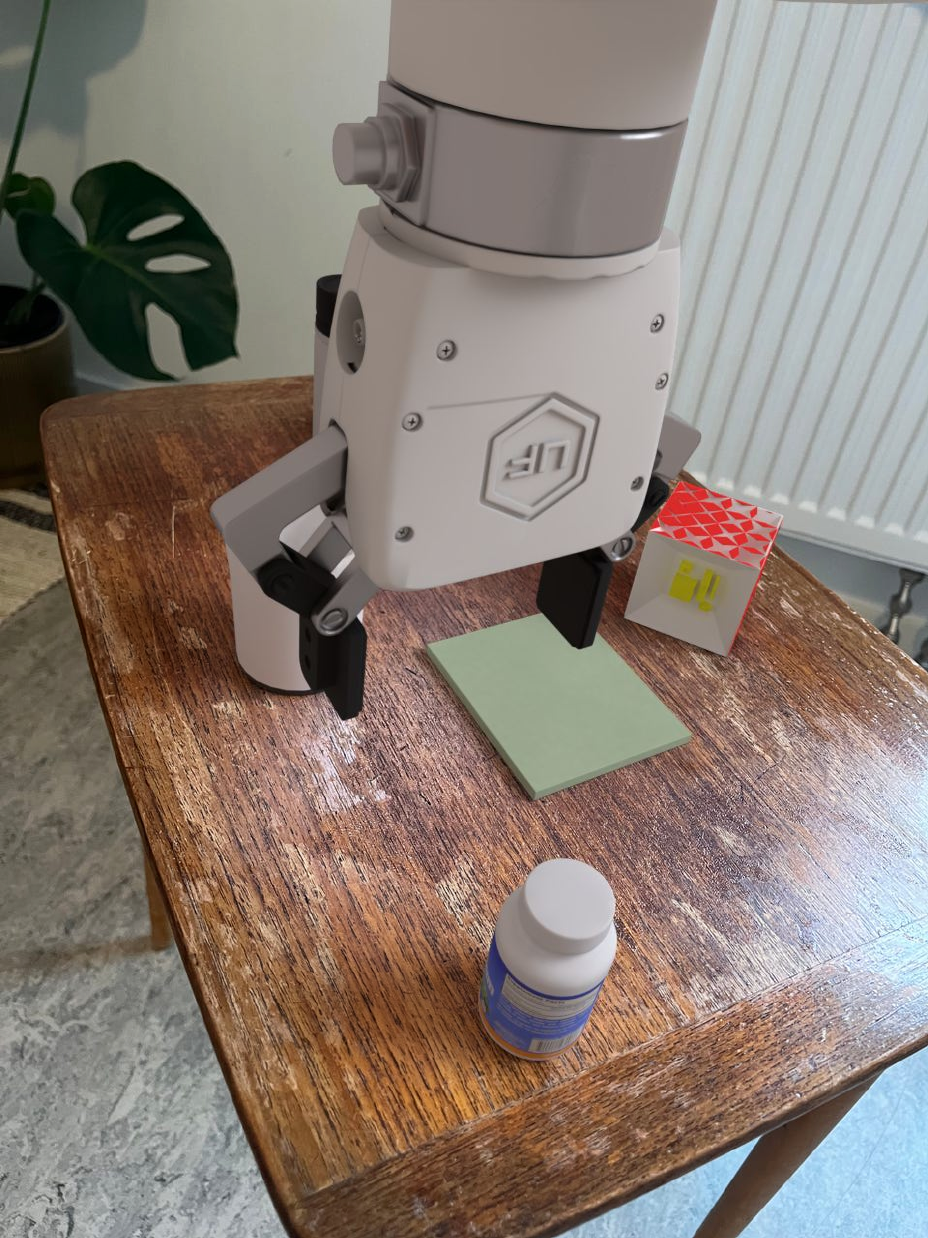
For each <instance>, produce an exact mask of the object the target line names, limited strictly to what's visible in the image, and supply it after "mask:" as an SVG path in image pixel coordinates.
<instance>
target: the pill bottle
mask: <svg viewBox="0 0 928 1238" xmlns="http://www.w3.org/2000/svg"><path fill="white" fill-rule="evenodd" d="M615 913H616V897H615V894H614V892H613V889H612V887H611V884H609V882H608V880H607V879H606V878H605V876H604V875H603V874H601V872H599V871H598V870H597V869H596V868H595V867H593V866H591V865H589V864H587V863H586V862H583V861H582V860H581V861H580V860H578V859H573V858H566V857H564V858H563V857H557V858H551V859H548V860H545V861H543V862H540V863H538V864H537V865H536V866H535V867H534V868H532V869H531V870H530V872H529V873H528V875H527V876H526V878H525V880H524V883H523V884H522V885H520V886H518V887H517V888H516V889H514V890H513V891H512V892H511V893H510V894H509V895H508V896H507V898H506V899H505V900H504V902H503V904H502V905H501V908H500V909H499V912H498V915H497V918H496V922H495V926H494V929H493V933H492V937H491V942H490V945H489V949H488V952H487V957H486V961H485V965H484V969H483V972H482V976H481V981H480V984H479V990H478V997H477V998H478V999H477V1000H478V1001H477V1003H478V1004H477V1005H478V1013H479V1016H480V1019H481V1023H482V1025H483V1028H484V1029H485V1030H486V1032H487V1034H488V1035H489V1036H490V1039H492V1040H493V1041H494V1042H495V1043H496V1044H497V1045H498V1046H499V1047H501V1048H502V1049H503V1050H504V1051H506V1052H508V1053H509V1054H511V1055H512V1056H515V1057H517V1058H520V1059H523V1060H526V1061H533V1062H544V1061H551V1060H553V1059H556V1058H558V1057H561V1056H562V1055H564V1054H566V1053H567V1052H568V1051H570V1050H571V1049H572V1048H573V1047H574V1046H575V1045H576V1044H577V1042H578V1041H579V1040H580V1038H581V1036H582V1035H583V1033H584V1030H585V1028H586V1026H587V1024H588V1022H589V1021H588V1020H589V1018H590V1016H591V1014H592V1011H593V1008H594V1006H595V1004H596V1001H597V999H598V997H599V994H600V993H601V990H602V989H603V985H604V983H605V981H606V980H607V979H606V978H607V976H608V975H609V972H610V969H611V967H612V965H613V963H614V960H615V957H616V953H617V949H618V948H617V947H618V936H617V930H616V926H615V922H614V916H615Z"/></svg>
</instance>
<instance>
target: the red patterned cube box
mask: <svg viewBox="0 0 928 1238" xmlns="http://www.w3.org/2000/svg"><path fill="white" fill-rule="evenodd" d="M663 505H664V506H663V507H662V509H661V510H660V512H659V514H658V515H657V517H656V518H655V520H654V522H653V523H652V525H651V526H650V528H649V530H648V532H647V536H646V539H645V543H644V546H643V549H642V552H641V556H640V560H639V563H638V566H637V570H636V573H635V577H634V581H633V584H632V588H631V591H630V594H629V598H628V601H627V605H626V608H625V611H624V615H623V619H625V620H628V621H631V622H633V623H635V624H636V623H637V624H638V625H641V626H644V627H647V628H648V629H651V630H653V631H657V632H659V633H662V634H664V635H667V636H670V637H672V638H675V639H678V640H680V641H682V642H685V643H688V644H690V645H692V646H693V645H694V646H696V647H699V648H701V649H704V650H706V651H708V652H711V653H714V654H717V655H719V656H722V657H725V658H727V657H728V656H729V655H730V652H731V650H732V648H733V646H734V644H735V643H734V642H735V640H736V638H737V635H738V633H739V631H740V628H741V625H742V623H743V620H744V618H745V617H746V614H747V611H748V609H749V606H750V604H751V602H752V601H753V597H754V595H755V592H756V591H757V590H756V589H757V587H758V584H759V582H760V579H761V577H762V576H763V572H764V570H765V567H766V564H767V561H768V558H769V556H770V555H771V553H772V549H773V547H774V544H775V541H776V538H777V536H778V534H779V531H780V530H781V527H782V525H783V521H784V514H780V513H777V512H775V511H771V510H769V509H765V508H762V507H760V506H756V505H753V504H751V503H748V502H745V501H741V500H739V499H736V498H733V497H730V496H727V495H725V494H721V493H718V492H715V491H712V490H710V489H706V488H703V487H700V486H698V485H694V484H691V483H689V482H686V481H682V480H679V481H678V483H677V484H676V486H675V488H674V489H673V491H672V493H671V494H670V496H668V498H667V500H666V501H665V503H664V504H663Z"/></svg>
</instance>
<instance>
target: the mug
mask: <svg viewBox="0 0 928 1238" xmlns="http://www.w3.org/2000/svg"><path fill="white" fill-rule="evenodd" d="M325 519H326V516H325V515H324V514H323V512H322V510H321V508H320V505H318V506H316V507H315V508H313V509H312V510H310V511H309V512H307V513H306V514H304V515H303V516H301V517H300V518H298V519H296V520H295V521H293V522H292V523H290V524H289V525H287V526H286V527H285V528H284V529H283V530H282V532H281V534H280V538H279V540H280V541H281V542H283V543H284V544H286V545H288V546H289V547H291V548H292V549H294V550H295V551H297V552H299V550H300V549H301V548H302V547H303V545H304V544H305V543H306V542H307V541H308V539H309V538H310V537H311V536H312V534H313V533H314V532H315V531H316V530H317V528H318V527H319V526H320V525H321V523H322V522H323V521H324V520H325ZM224 546H225V550H226V552H225V553H226V558H227V563H228V568H229V569H228V570H229V580H230V581H229V582H230V593H231V606H232V615H233V616H232V617H233V618H232V619H233V629H234V641H235V642H234V643H235V653H236V659H237V663H238V666H239V668H240V669H241V670H242V672H243V674H244V675H245V676H246V677H247V678H248V680H250V681H252V682H253V683H254V684H256V686H257V687H260V688H262V689H265V690H267V691H270V692H272V693H277V694H280V695H286V696H308V695H316V694H320V693H323V692H324V690H323V689H322V690H319V691H315V692H313V691H312V690H311V689H310V687H309V685H308V684H307V682H306V680H305V678H304V676H303V674H302V671H301V667H300V662H299V614H297V613H296V612H294V611H292V610H290V609H289V608H287V607H285V606H283V605H282V604H280V603H278V602H276V601H274V600H273V599H271V598H269V597H268V596H266V595H265V594H264V592H263V591H262V589H261V587H260V586H259V585H258V583H257V582H256V581H255V579H254V578H253V577H252V576H251V574H249V572H248V571H247V570H246V568H245V567H244V566H243V564H242V563H241V562H240V561H239V559H238V558H237V557H236V555H235V554H234V553H233V552H232V550H231V549H230V548H229V546H228V545H227V544H226V542H225V541H224ZM354 557H355V555H354V552H353V550H352V549H351V550H350V551H349V552H348V553H347V555H346V556H345V557H344V558H343V559H342V561H341V562H340V563H339V564H338V565H337V567H336V568H335V569H334V570H333V571H332V573H331V574H333V575H334V576H335V577H336V578H337V577H338V576H339V575H340V574H341V572H342V571H343V570H344V569H345V568H346V566H347V565H348V564H349V563H350V562H351V560H352V559H353V558H354ZM363 616H364V608H363V609H362V611H361V612H360V613H359V614H358V615H357V617H358V619H359V620H360V622H361V623H362V624H363V618H364V617H363Z"/></svg>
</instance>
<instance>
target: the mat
mask: <svg viewBox="0 0 928 1238" xmlns="http://www.w3.org/2000/svg"><path fill="white" fill-rule="evenodd" d="M425 654H426V655H427V656H428V658H429V659H430V660H431V662H432V663H433V665H434V666H435V667H436V669H437V670H438V671H439V673H440V674H441V676H442V677H443V678H444V680H445V681H446V682H447V684H448V685H449V687H450V688H451V689H452V691H453V692H454V694H455V695H456V696H457V697H458V699H459V700H460V702H461V703H462V704H463V706H464V707H465V708H466V710H467V711H468V713H469V714H470V716H471V717H472V718H473V719H474V721H475V723H476V724H477V725H478V726H479V728H480V729H481V731H482V732H483V733H484V735H485V736H486V738H487V739H488V740H489V741H490V743H491V744H492V746H493V747H494V748H495V750H496V751H497V753H498V754H499V755H500V757H501V758H502V760H503V761H504V762H505V764H506V765H507V766H508V768H509V770H511V772H512V774H513V775H514V776H515V777H516V779H517V780H518V781H519V783H520V784H521V786H522V787H523V788H524V790H525V791H526V793H527V794H528V795H529V796H530V798H531V800H532V801H536V800H538V799H539V800H540V799H542V798H545V797H547V796H549V795H552V794H554V793H558V792H560V791H562V790H565V789H568V788H571V787H574V786H576V785H579V784H581V783H584V782H587V781H589V780H592V779H595V778H597V777H601V776H603V775H606V774H608V773H611V772H614V771H616V770H619V769H621V768H625V767H626V766H629V765H632V764H635V763H638V762H641V761H644V760H645V759H648V758H651V757H654V756H656V755H658V754H662V753H664V752H667V751H670V750H672V749H674V748H678V747H680V746H682V745H686V744H688V743H690V740H691V739H692V732H691V731H690V730H689V728H687V727H686V725H684V724H683V722H682V721H680V719H679V718H678V717H677V716H676V715H675V714H674V713H673V712H672V711H671V710H670V709H669V708H668V707H667V706H666V704H665V703H664V702H663V701H662V699H660V698H659V697H658V696H657V695H656V694H655V693H654V691H653V690H651V688H650V687H649V686H648V685H647V684H646V683H645V682H644V681H643V679H641V678H640V676H639V675H638V674H637V673H636V672H635V671H634V670H633V668H632V667H631V666H630V665H629V664H628V663H627V662H626V661H625V660H624V659H623V658H622V657H621V656H620V655H619V653H618V652H616V650H615V649H614V648H613V647H612V646H611V645H610V644H609V643H608V642H607V641H606V640H605V639H604V637H603V636H602V635H601V634H600V633H599V632H598V631H597V632H596V636H595V640H594V643H593V645H592V646H590V647H587V648H583V649H580V650H579V649H577V648H575V647H572V646H571V645H570V644H569V643H568V642H567V640H566V639H565V638H564V637H563V636H562V635H561V634H560V633H559V631H558V630H557V629H556V628H555V627H554V626H553V625H552V624H551V622H550V621H549V620H548V619H547V618H546V617H545V616H544V615H543V613H542V612H540V613H536V614H532V615H528V616H525V617H521V618H518V619H514V620H510V621H506V622H502V623H500V624H499V623H498V624H496V625H492V626H489V627H485V628H481V629H478V630H474V631H471V632H467V633H464V634H459V635H456V636H452V637H448V638H445V639H441V640H438V641H434V642H430V643H427V644H426V651H425Z"/></svg>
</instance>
